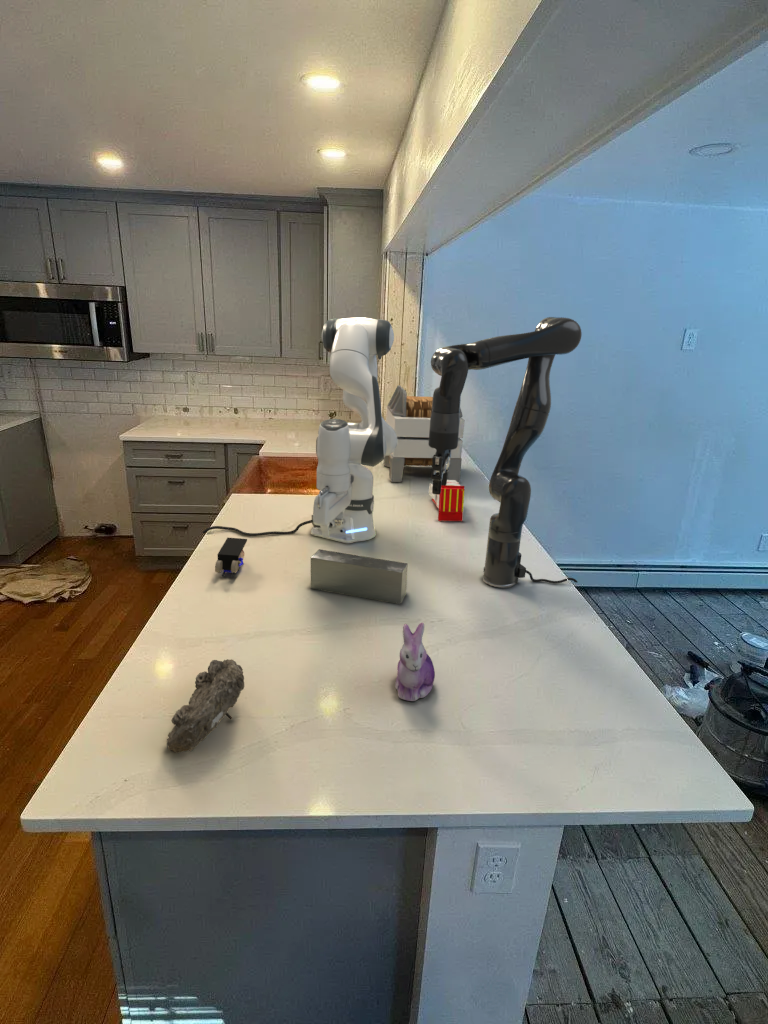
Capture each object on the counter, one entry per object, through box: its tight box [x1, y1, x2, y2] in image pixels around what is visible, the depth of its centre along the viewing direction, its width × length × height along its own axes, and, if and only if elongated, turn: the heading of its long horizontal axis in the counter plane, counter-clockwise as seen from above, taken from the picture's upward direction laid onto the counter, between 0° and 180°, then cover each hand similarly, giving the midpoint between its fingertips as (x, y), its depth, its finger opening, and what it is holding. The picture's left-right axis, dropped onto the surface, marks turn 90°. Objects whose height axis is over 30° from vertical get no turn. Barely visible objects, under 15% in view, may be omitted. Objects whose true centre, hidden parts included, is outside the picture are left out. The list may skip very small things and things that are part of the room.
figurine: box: [394, 622, 436, 702], centre depth 116 cm, size 9×10×15 cm
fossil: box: [166, 658, 245, 754], centre depth 106 cm, size 22×10×15 cm
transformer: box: [383, 384, 465, 484], centre depth 268 cm, size 34×33×41 cm
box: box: [310, 548, 409, 605], centre depth 157 cm, size 26×6×10 cm, turn 74°
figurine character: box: [214, 537, 248, 578], centre depth 166 cm, size 7×8×15 cm
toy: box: [428, 480, 465, 522], centre depth 225 cm, size 12×13×30 cm
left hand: (332, 530), depth 155 cm, fingers open, 8 cm apart
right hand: (439, 489), depth 150 cm, fingers open, 8 cm apart
